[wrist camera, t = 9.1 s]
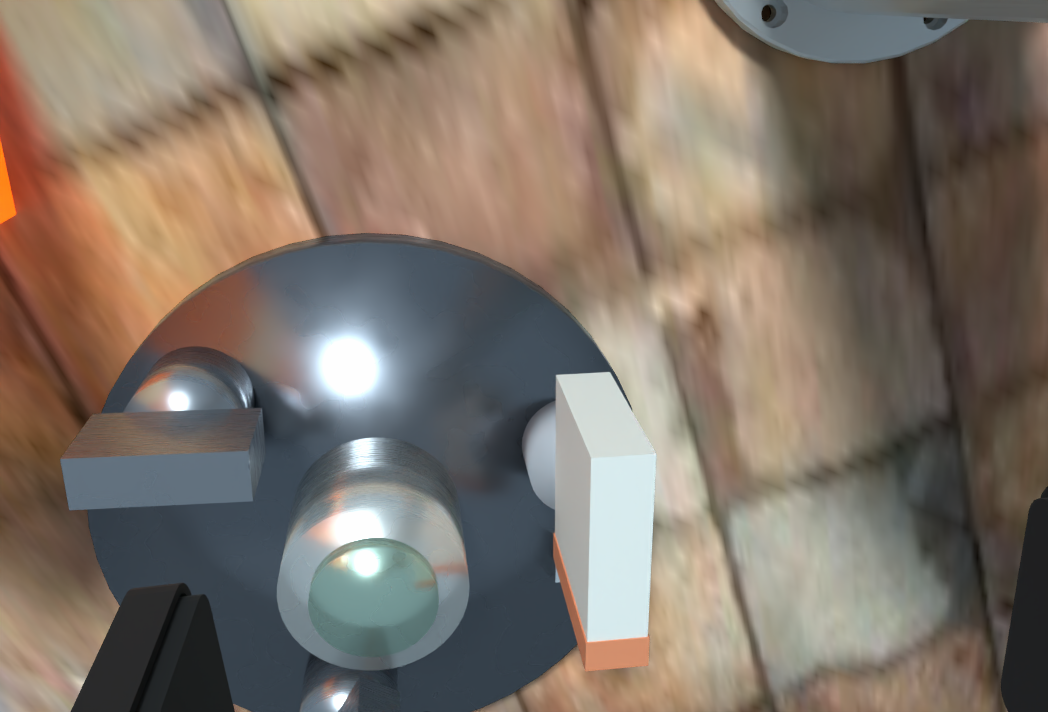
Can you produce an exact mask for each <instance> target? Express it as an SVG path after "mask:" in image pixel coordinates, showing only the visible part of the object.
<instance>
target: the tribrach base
mask: <svg viewBox="0 0 1048 712" xmlns="http://www.w3.org/2000/svg"><path fill="white" fill-rule="evenodd" d="M600 372H610V373H611V375H612V377H613V378H614V380H615V382H616V384H617V385H618V387H619V389H620V391H621V393H622V394H623V396H624V398H625V400H626V401H627V403H628V405H629V407H630V408H631V405H630V403H629V401H628V399H627V397H626V395H625V393H624V390H623V388H622V386H621V384H620V382H619V380H618V378H617V376H616V374H615V372H614V371H613V369H612V367H611V366H610V364H609V362H608V361H607V359H606V358H605V356H604V355H603V353H602V352H601V350H600V349H599V347H598V346H597V344H596V343H595V341H594V340H593V338H592V337H591V335H590V334H589V333H588V332H587V331H586V329H585V328H584V327H583V326H582V325H581V324H580V323H579V322H578V320H577V319H576V318H575V317H574V316H573V315H572V314H571V313H570V312H569V310H568V309H566V308H565V307H564V306H563V305H562V304H561V303H559V302H558V301H557V300H556V299H555V298H553V297H552V296H551V295H550V294H549V293H548V292H546V291H545V290H544V289H543V288H542V287H540V286H539V285H537V284H535V283H534V282H532V281H531V280H529V279H528V278H526V277H524V276H523V275H521V274H520V273H518V272H516V271H515V270H513V269H512V268H510V267H508V266H505V265H503V264H501V263H499V262H497V261H495V260H493V259H490V258H488V257H486V256H484V255H482V254H480V253H477V252H474V251H471V250H467V249H464V248H461V247H458V246H455V245H452V244H448V243H445V242H442V241H436V240H430V239H425V238H419V237H413V236H408V235H396V234H375V233H361V234H348V235H335V236H325V237H321V238H316V239H311V240H306V241H302V242H297V243H292V244H288V245H285V246H282V247H279V248H277V249H274V250H271V251H268V252H265V253H262V254H259V255H256V256H254V257H251V258H249V259H247V260H245V261H243V262H241V263H239V264H238V265H236V266H234V267H232V268H230V269H228V270H226V271H224V272H222V273H220V274H218V275H217V276H215V277H214V278H212V279H211V280H209V281H208V282H206V283H205V284H203V285H202V286H201V287H199V288H198V289H196V290H195V291H193V292H192V293H190V294H189V295H188V296H187V297H185V298H184V299H183V300H182V301H181V302H180V303H179V304H178V305H177V306H176V307H175V308H174V309H172V310H171V311H170V312H169V313H168V314H167V315H166V316H165V317H164V318H163V319H162V320H161V321H160V322H159V323H158V324H157V326H156V327H155V328H154V329H153V330H152V332H151V333H150V334H149V335H148V337H147V338H146V339H145V340H144V342H143V343H142V344H141V345H140V346H139V348H138V349H137V350H136V352H135V353H134V355H133V356H132V357H131V359H130V360H129V362H128V363H127V365H126V366H125V368H124V370H123V371H122V373H121V375H120V376H119V378H118V380H117V381H116V383H115V385H114V387H113V388H112V390H111V392H110V393H109V395H108V398H107V400H106V403H105V405H104V408H103V410H102V413H101V414H92V415H91V417H90V418H89V419H88V421H87V422H86V424H85V425H84V426H83V428H82V429H81V431H80V432H79V433H78V435H77V436H76V438H75V439H74V440H73V442H72V443H71V445H70V446H69V447H68V449H67V450H66V452H65V453H64V454H63V456H62V457H61V459H60V461H61V467H62V472H63V478H64V483H65V489H66V495H67V500H68V506H69V510H85V509H87V510H88V521H89V529H90V533H91V537H92V541H93V545H94V549H95V553H96V557H97V560H98V562H99V565H100V567H101V569H102V572H103V574H104V577H105V579H106V581H107V584H108V586H109V589H110V590H111V592H112V594H113V595H114V597H115V599H116V600H117V602H118V604H119V605H121V603H122V601H123V599H124V597H125V595H126V593H127V592H128V590H130V589H133V588H141V587H149V586H158V585H167V584H176V583H185V584H186V585H187V586H188V587H189V589H190V591H191V594H192V595H199V594H204V595H206V596H207V598H208V600H209V603H210V606H211V611H212V615H213V619H214V624H215V628H216V632H217V637H218V641H219V645H220V650H221V654H222V659H223V663H224V667H225V672H226V676H227V680H228V685H229V689H230V693H231V698H232V702H233V704H236V705H238V706H240V707H243V708H245V709H248V710H250V711H252V712H471V711H474V710H477V709H480V708H482V707H484V706H487V705H489V704H491V703H493V702H495V701H497V700H499V699H501V698H503V697H506V696H508V695H510V694H512V693H513V692H515V691H517V690H518V689H520V688H521V687H523V686H525V685H526V684H528V683H530V682H531V681H533V680H534V679H536V678H538V677H539V676H540V675H542V674H543V673H544V672H545V671H547V670H548V669H549V668H551V667H552V666H553V665H554V664H556V663H557V662H558V661H560V660H561V659H562V658H563V657H564V656H565V655H566V654H567V653H568V652H569V651H570V650H571V649H572V648H573V647H574V646H575V645H577V644H578V643H577V640H576V636H575V633H574V629H573V626H572V622H571V619H570V615H569V612H568V608H567V604H566V601H565V597H564V594H563V590H562V587H561V583H560V580H559V576H558V573H557V569H556V565H555V562H554V558H553V533H555V510H554V509H552V508H550V507H549V506H547V505H546V504H544V503H543V502H542V501H541V500H540V499H539V497H538V496H537V495H536V493H535V492H534V490H533V488H532V485H531V482H530V478H529V475H528V471H527V468H526V464H525V460H524V457H523V452H522V438H523V434H524V431H525V428H526V426H527V424H528V422H529V421H530V419H531V418H532V417H533V416H534V415H535V413H536V412H537V411H539V410H540V409H541V408H542V407H544V406H545V405H547V404H549V403H551V402H553V401H555V400H556V375H563V374H582V373H600ZM631 410H632V408H631ZM632 412H633V411H632Z"/></svg>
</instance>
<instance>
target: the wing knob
mask: <svg viewBox="0 0 1048 712" xmlns="http://www.w3.org/2000/svg"><path fill="white" fill-rule="evenodd" d="M522 452H523V457H524V460H525V464H526V468H527V471H528V475H529V478H530V482H531V485H532V488H533V490H534V492H535V493H536V495H537V496H538V497H539V499H540V500H541V501H542V502H543V503H544V504H546V505H547V506H549V507H550V508H552V509H554V510H555V533H553V558H554V562H555V565H556V569H557V573H558V576H559V580H560V583H561V587H562V590H563V594H564V597H565V601H566V604H567V608H568V612H569V615H570V619H571V622H572V626H573V629H574V633H575V636H576V640H577V643H578V647H579V651H580V654H581V658H582V661H583V665H584V668H585V671H594V670H605V669H616V668H627V667H638V666H648V661H649V640H650V637H649V635H648V617H649V597H650V576H651V555H652V535H653V514H654V494H655V473H656V452H655V450H654V449H653V447H652V445H651V443H650V442H649V440H648V438H647V436H646V435H645V433H644V431H643V429H642V428H641V426H640V424H639V422H638V421H637V419H636V417H635V415H634V414H633V412H632V410H631V408H630V407H629V405H628V403H627V401H626V400H625V398H624V396H623V394H622V393H621V391H620V389H619V387H618V385H617V384H616V382H615V380H614V378H613V377H612V375H611V373H610V372H600V373H582V374H563V375H556V400H555V401H553V402H551V403H549V404H547V405H545V406H544V407H542V408H541V409H540V410H539V411H537V412H536V413H535V415H534V416H533V417H532V418H531V419H530V421H529V422H528V424H527V426H526V428H525V431H524V434H523V438H522Z"/></svg>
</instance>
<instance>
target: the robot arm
mask: <svg viewBox="0 0 1048 712" xmlns="http://www.w3.org/2000/svg"><path fill="white" fill-rule="evenodd" d="M714 1H715V2H716V3H717V5H718V6H719V7H720V8H721V9H722V10H723V11H724V12H725V13H726V14H727V15H728V16H729V17H731V18H732V19H733V20H734V21H735V22H736V23H737V24H738V25H739V26H740V27H741V28H742V29H743V30H744V31H746V32H748V33H749V34H751V35H753V36H754V37H756V38H758V39H759V40H761V41H763V42H764V43H766V44H767V45H769V46H771V47H772V48H775V49H778V50H781V51H784V52H787V53H790V54H792V55H795V56H798V57H801V58H804V59H811V60H818V61H823V62H828V63H870V62H875V61H880V60H885V59H890V58H895V57H900V56H903V55H905V54H908V53H910V52H912V51H915V50H917V49H920V48H922V47H925V46H927V45H930V44H932V43H934V42H936V41H937V40H939V39H941V38H942V37H944V36H945V35H947V34H948V33H950V32H952V31H953V30H955V29H956V28H958V27H959V26H961V25H963V24H964V23H966V22H967V21H968V20H969V19H973V20H995V21H1017V22H1040V23H1048V0H714ZM765 5H768V6H769V7H770V8H771V16H770V18H769V19H768V20H767V21H763V20H762V16H761V12H762V9H763V7H764V6H765ZM923 17H927V19H926V20H925V21H924V20H923ZM1001 691H1002V697H1003V700H1004V703H1005V706H1006V708H1007V710H1008V712H1048V487H1046V489H1045V490H1044V491H1043V493H1042V495H1041V498H1039V499H1037V500H1034V501H1033V503H1032V504H1031V506H1030V509H1029V513H1028V519H1027V525H1026V531H1025V538H1024V544H1023V550H1022V556H1021V562H1020V568H1019V574H1018V580H1017V587H1016V593H1015V599H1014V605H1013V611H1012V617H1011V623H1010V629H1009V636H1008V642H1007V648H1006V654H1005V660H1004V666H1003V672H1002V679H1001ZM71 712H235V711H234V706H233V702H232V698H231V693H230V689H229V685H228V680H227V676H226V672H225V667H224V663H223V659H222V654H221V650H220V645H219V641H218V637H217V632H216V628H215V624H214V619H213V615H212V611H211V606H210V603H209V600H208V598H207V596H206V595H204V594H199V595H192V594H191V591H190V589H189V587H188V586H187V585H186V584H185V583H176V584H167V585H158V586H149V587H141V588H133V589H130V590H128V592H127V593H126V595H125V597H124V599H123V601H122V603H121V605H120V607H119V609H118V612H117V614H116V616H115V618H114V620H113V622H112V624H111V626H110V629H109V631H108V633H107V635H106V637H105V639H104V641H103V644H102V646H101V648H100V650H99V652H98V654H97V656H96V659H95V661H94V663H93V665H92V667H91V669H90V671H89V674H88V676H87V678H86V680H85V682H84V684H83V686H82V689H81V691H80V693H79V695H78V697H77V699H76V701H75V704H74V706H73V708H72V710H71Z"/></svg>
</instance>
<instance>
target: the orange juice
mask: <svg viewBox="0 0 1048 712" xmlns="http://www.w3.org/2000/svg"><path fill="white" fill-rule="evenodd" d="M15 215H16V211H15V206H14V202H13V197H12V192H11V187H10V183H9V178H8V173H7V169H6V164H5V159H4V154H3V150H2V145H1V140H0V224H1V223H3V222H4V221H6V220H8V219H9V218H11V217H13V216H15Z"/></svg>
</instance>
